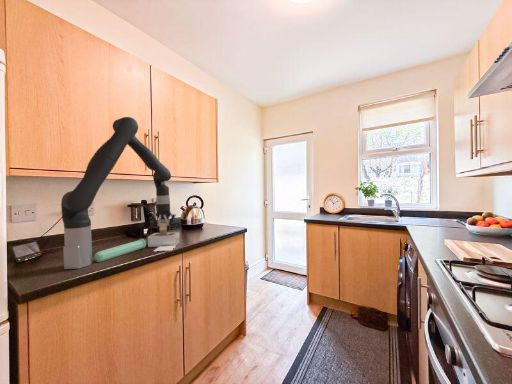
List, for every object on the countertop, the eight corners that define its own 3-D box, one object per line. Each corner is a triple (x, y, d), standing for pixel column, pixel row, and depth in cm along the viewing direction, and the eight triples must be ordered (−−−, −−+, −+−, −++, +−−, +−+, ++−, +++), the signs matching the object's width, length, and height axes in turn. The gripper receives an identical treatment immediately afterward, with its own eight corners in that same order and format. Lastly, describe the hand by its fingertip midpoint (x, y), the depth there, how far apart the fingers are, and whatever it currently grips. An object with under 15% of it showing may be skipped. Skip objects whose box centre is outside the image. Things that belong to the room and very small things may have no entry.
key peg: (166, 236, 129) (166, 219, 129) (159, 236, 129) (159, 219, 129) (169, 234, 133) (168, 218, 133) (162, 235, 133) (161, 218, 133)
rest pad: (170, 251, 116) (170, 250, 116) (153, 252, 115) (153, 250, 115) (175, 246, 125) (175, 245, 125) (159, 247, 124) (159, 246, 124)
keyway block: (174, 246, 126) (174, 235, 126) (148, 247, 125) (147, 236, 125) (179, 241, 136) (179, 232, 136) (154, 242, 135) (154, 233, 135)
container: (97, 250, 100) (144, 237, 123) (90, 253, 102) (137, 240, 125) (101, 262, 99) (147, 247, 122) (94, 265, 101) (140, 250, 124)
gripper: (148, 204, 126) (149, 233, 126) (173, 203, 127) (174, 232, 127) (153, 203, 133) (154, 230, 134) (177, 202, 134) (178, 230, 135)
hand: (164, 231), depth 131 cm, fingers closed on key peg, 4 cm apart
